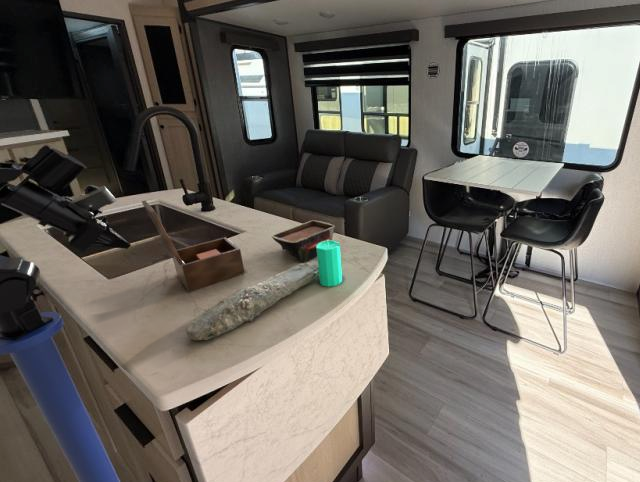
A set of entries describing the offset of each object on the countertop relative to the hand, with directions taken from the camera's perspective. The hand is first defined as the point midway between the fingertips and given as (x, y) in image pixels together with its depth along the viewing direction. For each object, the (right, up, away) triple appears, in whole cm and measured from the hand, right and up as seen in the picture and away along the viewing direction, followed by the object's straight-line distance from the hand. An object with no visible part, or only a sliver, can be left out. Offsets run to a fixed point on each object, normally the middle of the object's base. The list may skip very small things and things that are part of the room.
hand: (129, 246), depth 73 cm
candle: (+44, -10, +12) cm, 46 cm away
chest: (+10, -9, +15) cm, 20 cm away
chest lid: (+4, +3, +5) cm, 7 cm away
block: (+10, -8, +15) cm, 20 cm away
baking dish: (+32, -4, +29) cm, 44 cm away
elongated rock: (+30, -13, +4) cm, 33 cm away
